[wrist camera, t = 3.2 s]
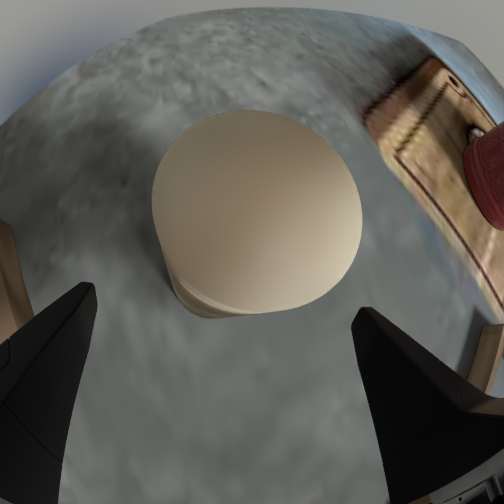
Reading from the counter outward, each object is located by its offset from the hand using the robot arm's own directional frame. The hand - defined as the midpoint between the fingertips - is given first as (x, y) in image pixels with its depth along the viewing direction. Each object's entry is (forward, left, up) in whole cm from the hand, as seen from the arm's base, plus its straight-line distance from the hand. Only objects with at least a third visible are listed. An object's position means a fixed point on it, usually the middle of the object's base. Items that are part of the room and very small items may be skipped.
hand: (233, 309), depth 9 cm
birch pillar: (+1, -2, -10) cm, 10 cm away
